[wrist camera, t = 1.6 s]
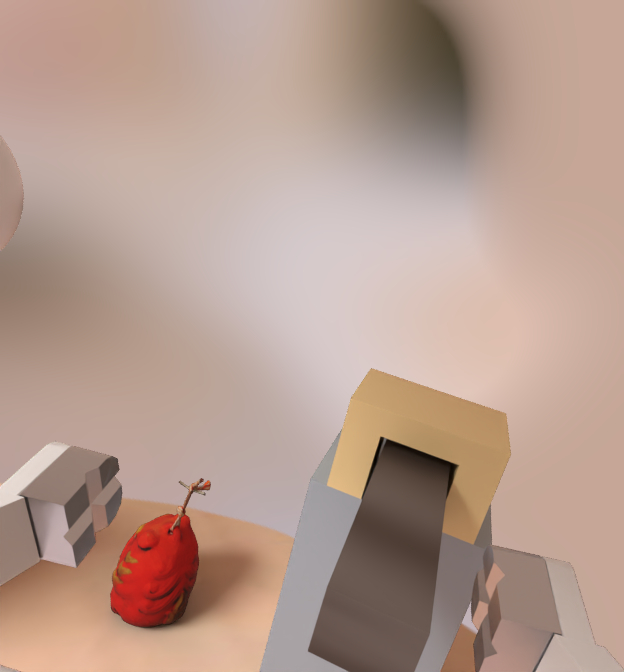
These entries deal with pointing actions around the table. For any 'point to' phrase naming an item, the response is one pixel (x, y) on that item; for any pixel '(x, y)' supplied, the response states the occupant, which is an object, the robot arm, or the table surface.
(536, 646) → the robot arm
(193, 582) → the red clay folk toy
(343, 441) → the post
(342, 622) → the block
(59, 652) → the table surface
